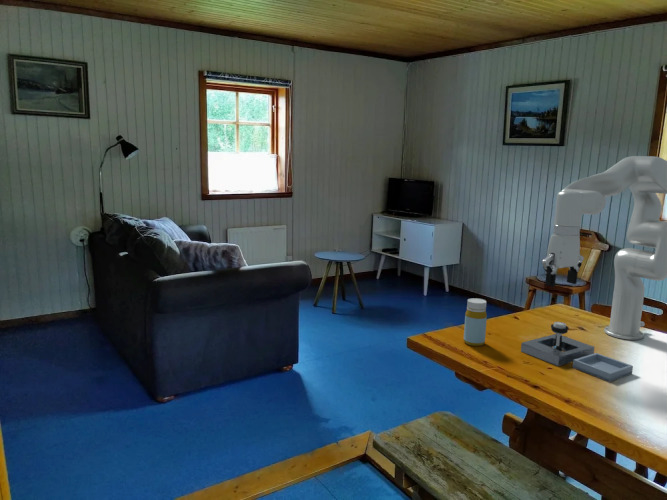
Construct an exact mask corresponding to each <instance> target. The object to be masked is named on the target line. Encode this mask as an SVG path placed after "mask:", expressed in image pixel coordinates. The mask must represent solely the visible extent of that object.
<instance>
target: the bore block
mask: <svg viewBox="0 0 667 500" xmlns="http://www.w3.org/2000/svg"><path fill="white" fill-rule="evenodd" d="M555 337H556V333H554V334H551V335H547V336H542V337H539V338H538V337H537V338H534V339H531V340H527V341H526V340H525V341H522V342H521V347H520V352H522V353H524V354H526V355H529V356H531V357H533V358H537V359H539V360H542V361H544V362H546V363H549V364H552V365H554V366H556V367H560V366H564V365H567V364H570V363H573V360H574V359H578V358H581V357H584V356H588V355H591V354H594V353H595V346H594V345H591V344H588V343H584V342H582V341H579V340H576V339H574V338H571V337H567V336H564V335H562V342H563V346H562V348H563V350H562V351H560V350H557V349H554V348H553V341H555Z"/></svg>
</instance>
